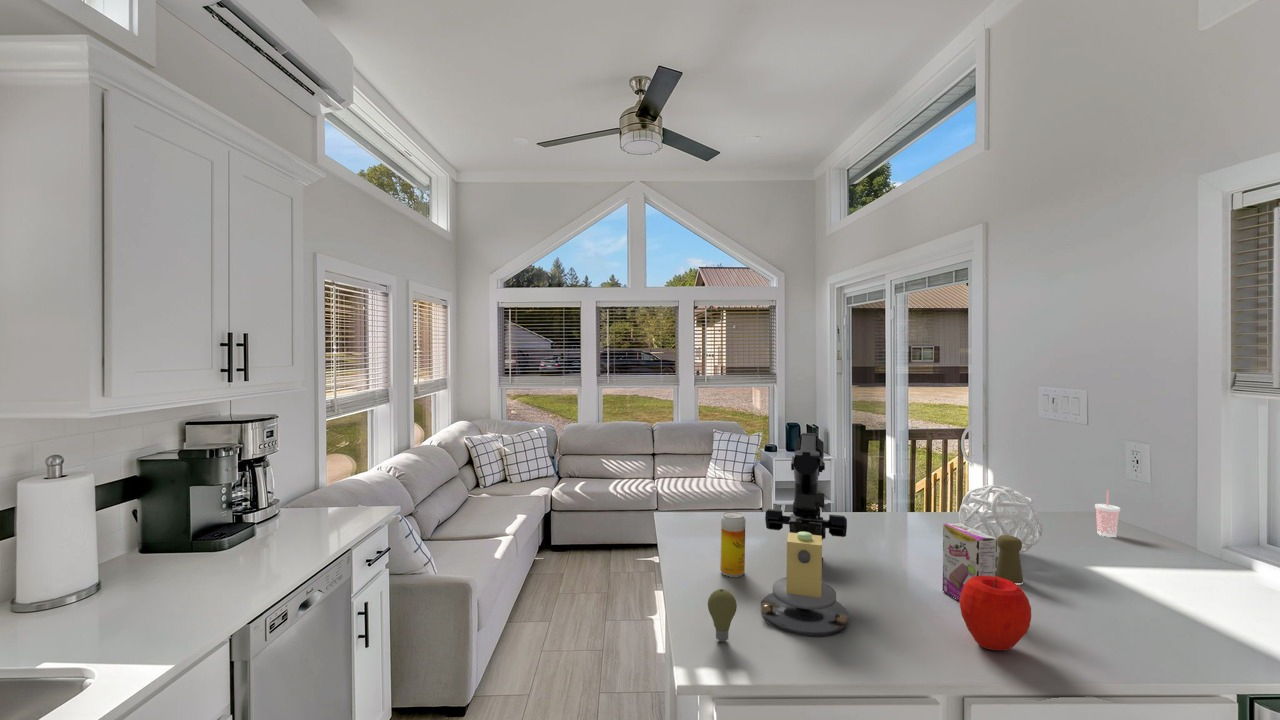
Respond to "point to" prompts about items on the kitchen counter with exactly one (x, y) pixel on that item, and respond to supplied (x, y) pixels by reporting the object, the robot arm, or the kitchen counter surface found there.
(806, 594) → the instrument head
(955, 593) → the candy bar box
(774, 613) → the base
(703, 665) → the kitchen counter surface
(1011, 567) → the brown rounded upright piece
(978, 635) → the apple
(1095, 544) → the kitchen counter surface
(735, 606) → the light bulb
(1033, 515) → the decorative ball
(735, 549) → the beer can
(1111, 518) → the beverage cup
